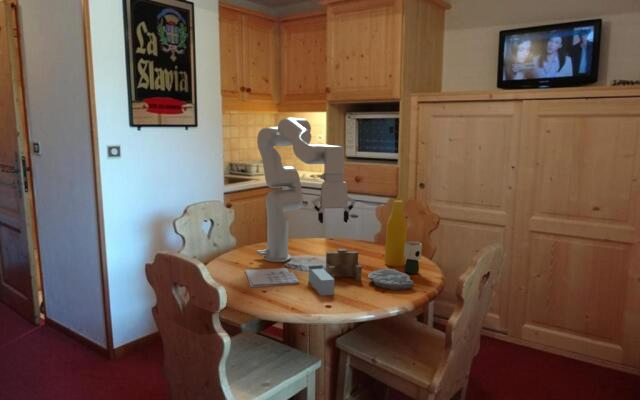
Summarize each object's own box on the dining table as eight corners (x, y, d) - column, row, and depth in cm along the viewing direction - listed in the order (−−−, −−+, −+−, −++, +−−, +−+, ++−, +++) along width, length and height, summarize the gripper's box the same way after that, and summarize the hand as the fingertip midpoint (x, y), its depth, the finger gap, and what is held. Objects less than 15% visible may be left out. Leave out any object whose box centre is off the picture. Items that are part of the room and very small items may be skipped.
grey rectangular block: (320, 296, 173) (321, 277, 172) (308, 282, 188) (308, 265, 187) (334, 294, 174) (334, 276, 173) (320, 281, 189) (321, 264, 188)
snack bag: (250, 288, 179) (250, 283, 179) (244, 272, 199) (244, 267, 198) (299, 285, 185) (299, 280, 184) (289, 269, 204) (289, 265, 203)
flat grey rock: (359, 278, 194) (359, 271, 194) (395, 274, 200) (396, 267, 200) (381, 294, 176) (382, 287, 176) (421, 290, 182) (421, 282, 182)
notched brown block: (329, 281, 188) (330, 254, 186) (325, 275, 196) (326, 248, 194) (361, 280, 190) (362, 253, 188) (355, 274, 199) (356, 248, 197)
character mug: (414, 277, 196) (416, 247, 194) (398, 274, 200) (400, 244, 198) (424, 271, 205) (426, 242, 203) (409, 268, 209) (410, 239, 207)
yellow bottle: (399, 268, 208) (402, 203, 203) (380, 264, 214) (383, 200, 209) (408, 263, 215) (412, 201, 211) (390, 259, 221) (394, 198, 216)
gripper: (313, 179, 175) (313, 224, 178) (358, 178, 179) (357, 223, 181) (309, 177, 183) (309, 221, 185) (353, 177, 186) (352, 219, 189)
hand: (333, 222), depth 183 cm, fingers open, 9 cm apart
